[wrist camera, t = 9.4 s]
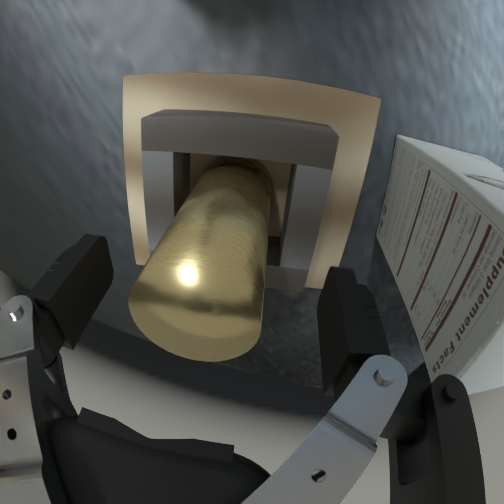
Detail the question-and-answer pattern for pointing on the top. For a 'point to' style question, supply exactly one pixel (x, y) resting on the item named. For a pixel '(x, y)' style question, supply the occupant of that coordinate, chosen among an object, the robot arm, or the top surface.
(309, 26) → the top surface
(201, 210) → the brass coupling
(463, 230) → the supplement box
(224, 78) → the socket board
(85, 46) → the top surface
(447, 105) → the top surface
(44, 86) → the top surface
